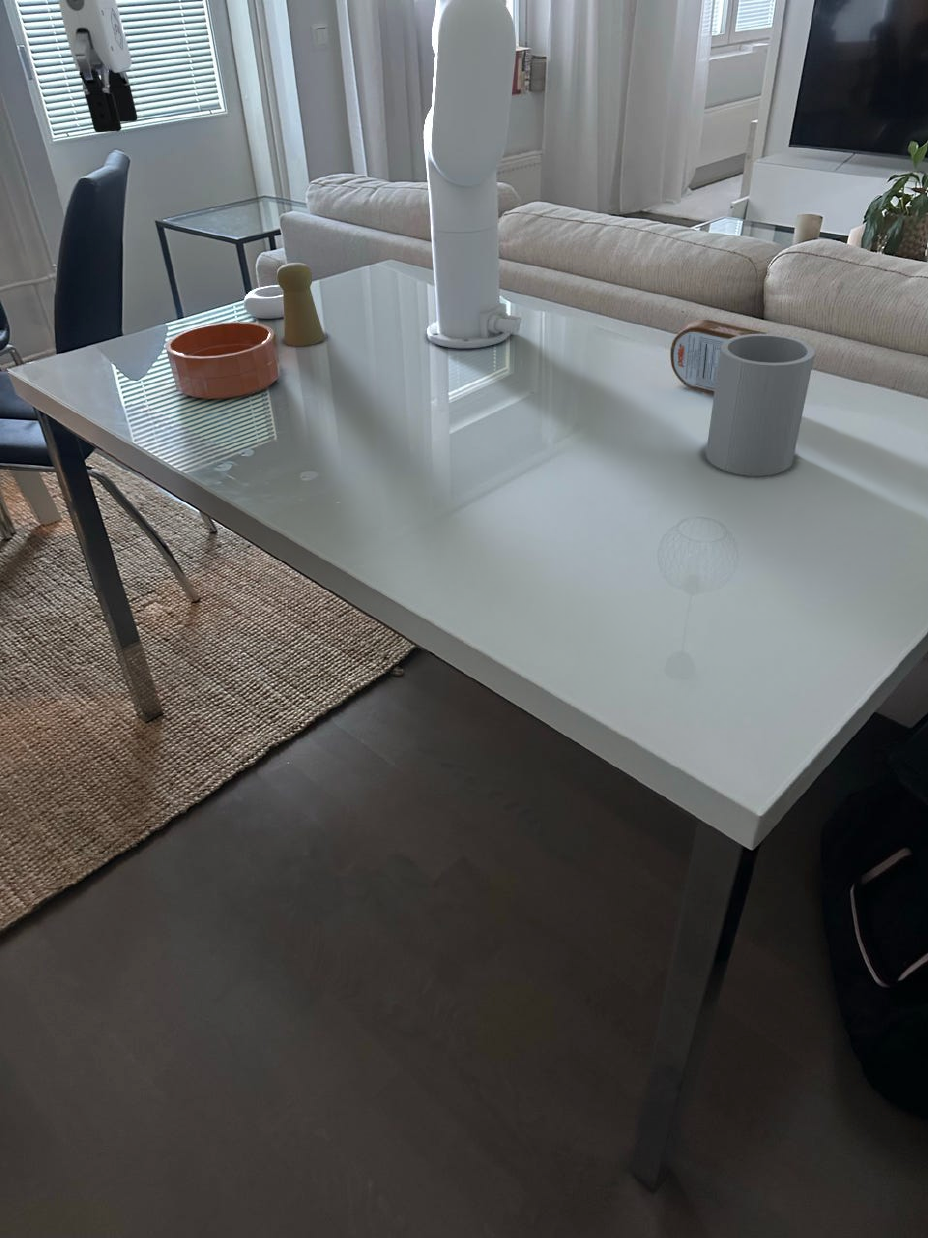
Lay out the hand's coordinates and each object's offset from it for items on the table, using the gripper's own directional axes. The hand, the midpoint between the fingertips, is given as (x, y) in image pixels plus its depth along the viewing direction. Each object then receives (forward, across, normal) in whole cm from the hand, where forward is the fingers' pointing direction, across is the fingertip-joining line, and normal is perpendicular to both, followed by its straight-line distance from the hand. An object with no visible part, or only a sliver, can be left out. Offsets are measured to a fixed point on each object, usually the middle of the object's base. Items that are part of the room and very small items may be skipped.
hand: (117, 125), depth 109 cm
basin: (+30, -11, -9) cm, 34 cm away
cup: (+30, -47, -70) cm, 90 cm away
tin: (+30, -30, -73) cm, 85 cm away
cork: (+31, +4, -19) cm, 36 cm away
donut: (+31, +19, -13) cm, 38 cm away
